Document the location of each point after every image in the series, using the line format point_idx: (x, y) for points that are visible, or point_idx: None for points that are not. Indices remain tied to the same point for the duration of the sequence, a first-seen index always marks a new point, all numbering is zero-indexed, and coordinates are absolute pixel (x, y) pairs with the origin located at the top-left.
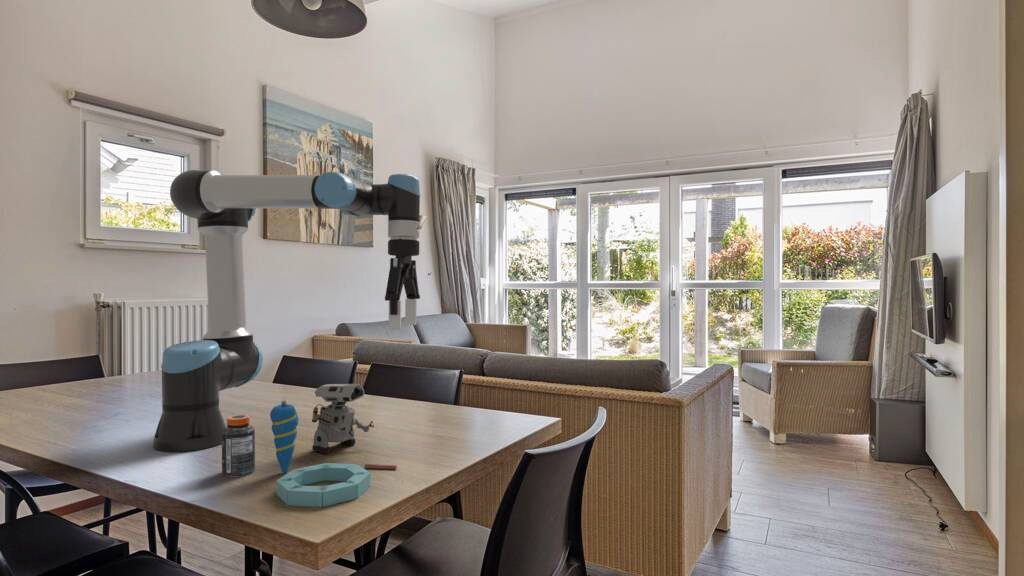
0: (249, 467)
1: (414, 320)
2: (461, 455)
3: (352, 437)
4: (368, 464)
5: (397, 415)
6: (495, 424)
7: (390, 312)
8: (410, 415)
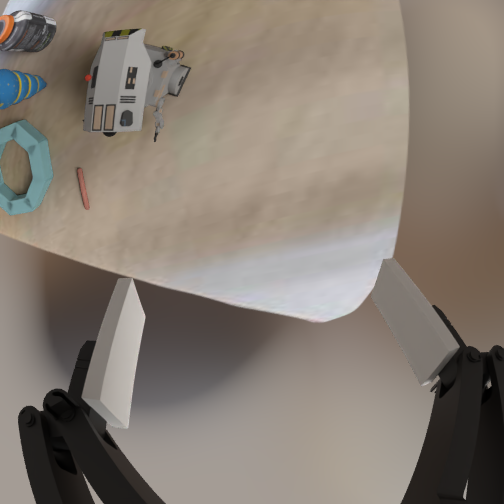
0: (31, 51)
1: (379, 306)
2: (162, 263)
3: (172, 93)
4: (78, 174)
5: (386, 111)
6: (324, 270)
7: (81, 350)
8: (386, 134)
